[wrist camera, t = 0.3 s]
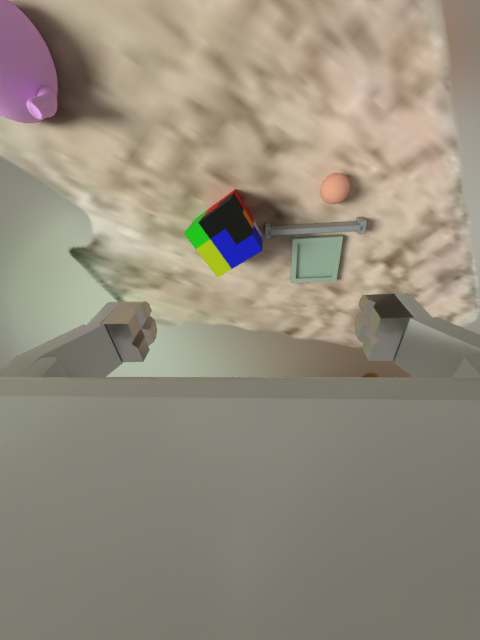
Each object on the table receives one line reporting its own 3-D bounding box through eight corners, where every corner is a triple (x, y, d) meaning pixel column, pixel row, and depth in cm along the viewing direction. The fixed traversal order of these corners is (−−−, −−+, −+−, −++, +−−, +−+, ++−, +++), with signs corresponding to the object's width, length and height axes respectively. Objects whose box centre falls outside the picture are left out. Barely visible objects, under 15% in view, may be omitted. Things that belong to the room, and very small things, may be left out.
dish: (291, 237, 54) (292, 239, 53) (341, 234, 53) (343, 236, 52) (290, 280, 60) (290, 283, 58) (334, 278, 59) (336, 281, 57)
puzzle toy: (262, 233, 54) (262, 250, 46) (223, 257, 58) (217, 277, 50) (235, 189, 49) (230, 199, 41) (195, 218, 53) (183, 233, 45)
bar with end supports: (265, 222, 52) (265, 227, 50) (362, 216, 51) (367, 221, 48) (265, 234, 54) (265, 239, 51) (359, 229, 52) (364, 233, 49)
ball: (319, 172, 47) (324, 175, 43) (348, 170, 46) (356, 173, 42) (316, 202, 50) (321, 207, 46) (343, 200, 49) (350, 206, 45)
